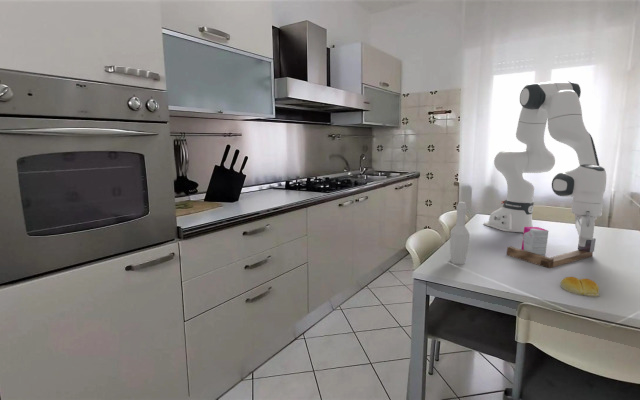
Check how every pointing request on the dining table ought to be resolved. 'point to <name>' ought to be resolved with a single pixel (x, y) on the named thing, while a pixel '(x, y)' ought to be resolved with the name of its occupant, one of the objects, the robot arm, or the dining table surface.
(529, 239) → the supplement box
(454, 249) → the faceted bottle
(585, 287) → the bread roll
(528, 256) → the l-shaped wooden bracket
